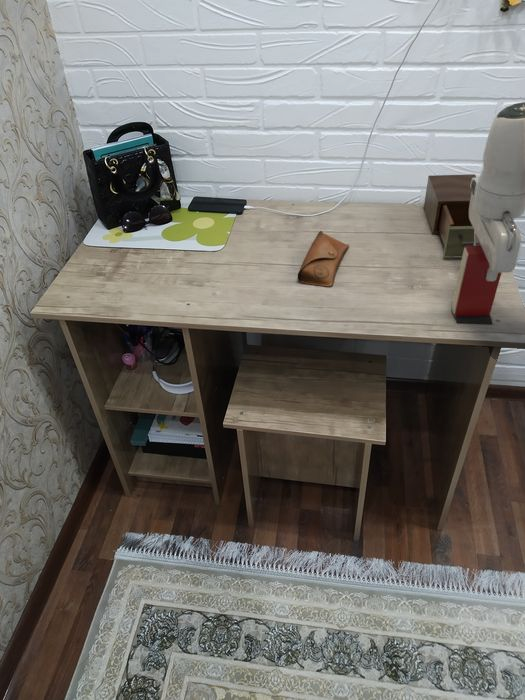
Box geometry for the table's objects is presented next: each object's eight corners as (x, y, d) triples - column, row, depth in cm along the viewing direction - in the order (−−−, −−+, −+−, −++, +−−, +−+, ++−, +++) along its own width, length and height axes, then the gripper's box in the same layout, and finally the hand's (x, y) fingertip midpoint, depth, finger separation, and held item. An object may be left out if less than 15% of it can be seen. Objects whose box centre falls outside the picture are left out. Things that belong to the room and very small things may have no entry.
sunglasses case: (334, 286, 127) (319, 262, 124) (307, 295, 131) (293, 272, 128) (350, 244, 139) (337, 221, 136) (326, 253, 143) (312, 231, 140)
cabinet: (480, 233, 141) (488, 200, 134) (432, 234, 141) (438, 201, 135) (468, 206, 151) (475, 174, 144) (423, 207, 151) (428, 175, 145)
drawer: (494, 266, 129) (502, 238, 124) (447, 267, 129) (453, 239, 124) (477, 227, 141) (483, 201, 136) (434, 228, 142) (439, 202, 137)
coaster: (485, 303, 121) (486, 301, 120) (492, 324, 115) (492, 322, 115) (451, 302, 121) (452, 300, 121) (456, 323, 116) (457, 321, 116)
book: (485, 306, 119) (502, 244, 109) (489, 315, 117) (507, 253, 107) (450, 307, 119) (464, 245, 109) (453, 316, 117) (467, 254, 107)
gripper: (536, 229, 93) (515, 297, 102) (503, 173, 108) (487, 237, 117) (497, 230, 94) (479, 297, 103) (469, 174, 109) (456, 237, 118)
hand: (483, 264), depth 110 cm, fingers open, 8 cm apart
